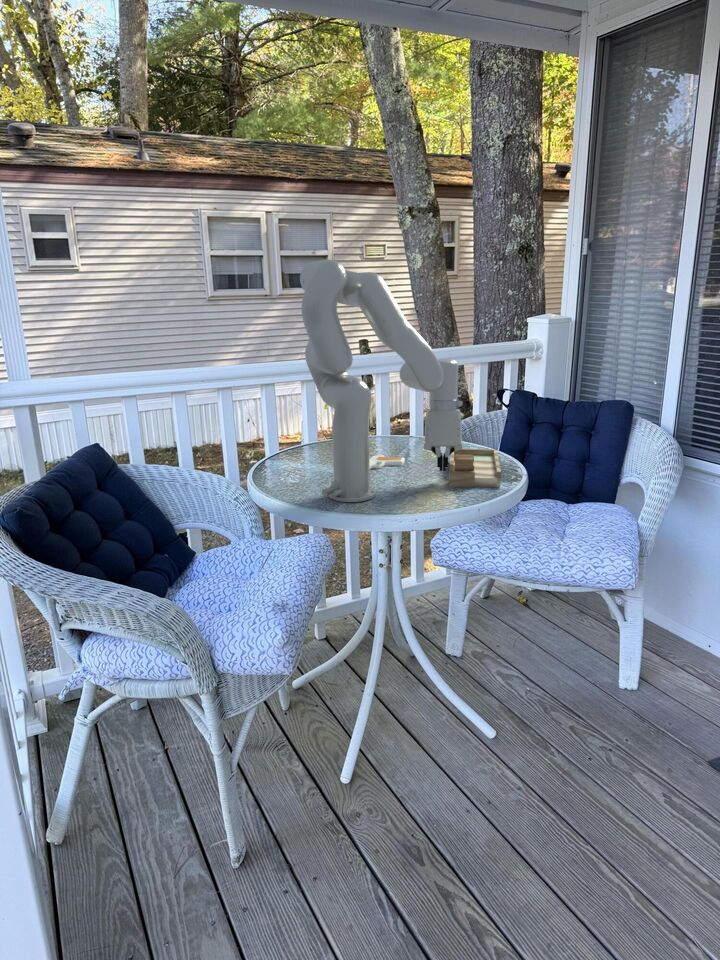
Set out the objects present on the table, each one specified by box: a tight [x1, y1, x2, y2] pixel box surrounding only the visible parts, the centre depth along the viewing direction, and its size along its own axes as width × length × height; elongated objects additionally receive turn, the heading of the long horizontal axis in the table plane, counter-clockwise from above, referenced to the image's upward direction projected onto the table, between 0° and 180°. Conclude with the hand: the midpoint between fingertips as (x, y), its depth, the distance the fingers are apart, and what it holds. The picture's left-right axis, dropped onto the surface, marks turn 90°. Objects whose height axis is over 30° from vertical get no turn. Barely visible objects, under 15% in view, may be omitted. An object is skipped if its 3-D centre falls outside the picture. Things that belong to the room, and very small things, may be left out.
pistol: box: [369, 454, 406, 470], centre depth 195 cm, size 2×20×11 cm
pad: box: [474, 455, 494, 461], centre depth 195 cm, size 6×6×2 cm
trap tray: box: [448, 448, 502, 488], centre depth 187 cm, size 26×14×4 cm, turn 171°
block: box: [455, 455, 473, 471], centre depth 178 cm, size 5×5×5 cm
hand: (442, 469), depth 179 cm, fingers closed
